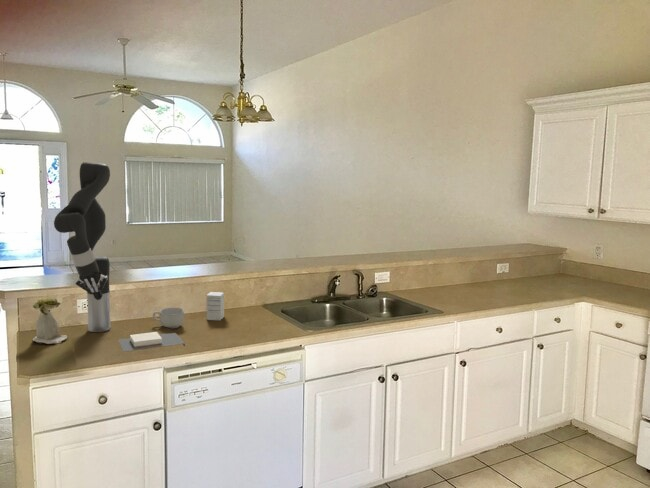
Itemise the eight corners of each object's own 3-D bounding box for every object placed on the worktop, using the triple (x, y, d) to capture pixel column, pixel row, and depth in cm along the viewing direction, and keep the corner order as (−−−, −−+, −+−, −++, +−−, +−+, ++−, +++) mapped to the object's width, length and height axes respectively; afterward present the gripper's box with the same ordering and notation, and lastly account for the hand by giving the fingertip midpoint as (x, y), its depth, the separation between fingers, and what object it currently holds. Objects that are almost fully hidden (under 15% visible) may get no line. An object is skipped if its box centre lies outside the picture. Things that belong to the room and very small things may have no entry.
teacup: (186, 324, 244) (186, 307, 243) (180, 330, 233) (179, 313, 232) (158, 322, 244) (157, 306, 243) (149, 329, 233) (149, 312, 232)
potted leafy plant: (47, 347, 206) (45, 303, 203) (25, 342, 211) (22, 299, 208) (72, 339, 217) (70, 296, 214) (50, 334, 222) (48, 293, 219)
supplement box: (210, 316, 258) (210, 291, 257) (224, 316, 258) (224, 292, 256) (206, 320, 251) (206, 295, 249) (220, 320, 251) (221, 295, 249)
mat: (118, 341, 215) (118, 339, 215) (175, 334, 227) (175, 332, 227) (123, 353, 202) (123, 351, 201) (184, 345, 213) (184, 343, 213)
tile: (130, 334, 215) (157, 331, 220) (130, 340, 215) (157, 337, 220) (134, 341, 206) (162, 338, 211) (134, 347, 206) (162, 343, 212)
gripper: (104, 254, 202) (118, 291, 209) (71, 259, 202) (86, 296, 209) (98, 262, 195) (112, 301, 202) (64, 268, 195) (79, 306, 203)
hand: (99, 298), depth 206 cm, fingers closed
